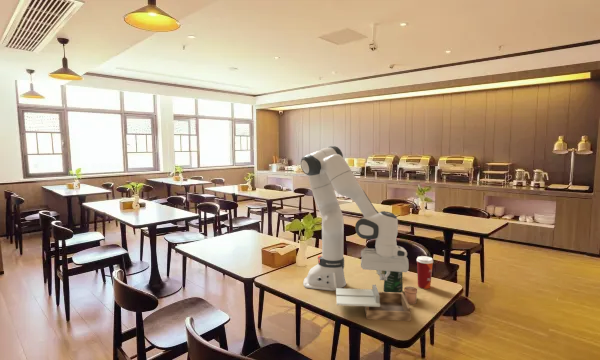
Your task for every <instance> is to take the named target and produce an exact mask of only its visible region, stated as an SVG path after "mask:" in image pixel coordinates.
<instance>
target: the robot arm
mask: <svg viewBox="0 0 600 360" xmlns="http://www.w3.org/2000/svg"><path fill="white" fill-rule="evenodd" d="M300 167H301V170H302V172H303V173H304V174H305V175H306V176H307V177H308V183H309V186H310V190H311V192H312V196H313V198H314V202H315V204H316V207H317V210H318V211H319V214H320V216H321V244H322V245H321V255H320V254H318V256H317V261H318V262H317V264H316V265H314V266H313V267H311V268H310V269H309V271H308V273H307V276H306V277H304V279H303V283H302V285H303V287H304V288H306V289H313V290H323V291H331V292H333V291H336V288H345V287H346V285H347V280H346V278H345V271H344V268H345V257H344V234H345V233H344V231H345V230H344V228H345V227H344V226H345V224H344V215H343V212H342V209H341V206H340V203H339V201H338V198H337V195H336V193H337V194H339V195H341V196H343V197H346V198H348V199H351V200H352V201H353V202H354V203H355V204H356V206H357V207H358V209H359V210H360V212H361V213H362V216H363V217H361V218H360V219H358V220H357V221H356V223H355V228H354V229H355V233H356V234H357V236H358V237H359V238H361V239H364V240H375V245H374V247H375V248H373V247H371V248H368V247H365V248H363V249H361V251H360V255H361V256H360V257H361V260H360V268H361V269H362V270H369V271H376V270H378V273H379V274H378V275H379V281H384V280H386V281H387V277H388V276H389V274H390V271H395V272H402V273H407V272H408V271H409V259H408V257H407V256H408V252H407V250H406V249H405V248H404V247H403V246H400V245H397V236H398V232H399V231H398V230H399V226H398V225H399V221H398V220H399V219H398V217H397V215H396V214H394V213H393V212H390V211H384V210H382V211H378V210H377V209H376V208H375V206H374V205H373V203H372V202H371V199H370V198H369V196H368V195H367V193H366V192H365V190H364V189H363V187H362V186H361V184H360V183H359V182H358V180H357V178H356V176H355V174H354V173H353V171H352V169H351V167H350V166H349V164H348V163H347V161H346V160H345V159H344V155H343V152H342V150H341V149H340V148H339V147H338V146H332V145H331V146H328V147H324V148H323V147H322V148H320V149H317V150H315V151H313V152H311V153H308V154H305V155H304V156H303V157H301V160H300ZM382 271H386V272H387V273H386V274H385V275H381V273H382Z"/></svg>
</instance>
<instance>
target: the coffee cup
mask: <svg viewBox="0 0 600 360" xmlns="http://www.w3.org/2000/svg"><path fill="white" fill-rule="evenodd" d="M433 259H434V258H432V257H431V256H426V255H425V256H424V255H421V256H419V255H418V256H417V258H416V264H417V265H416V267H417V268H416V269H417V272H416V273H417V287H418V288H420V289H424V290H427V289H430V288H431V286H432V285H431V283H432V273H433V263H434V260H433Z"/></svg>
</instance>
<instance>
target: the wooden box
mask: <svg viewBox="0 0 600 360" xmlns="http://www.w3.org/2000/svg"><path fill="white" fill-rule="evenodd" d="M378 293H379V296H380V307H373V306H363V309H364V313H365V317H366V320H384V321H405V322H407V321H408V322H409V321H412V311H411V306H410V304H408V302H407V300H406V298H405V293H404V292H401V293H398V292H384V291H378Z"/></svg>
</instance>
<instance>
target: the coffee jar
mask: <svg viewBox="0 0 600 360" xmlns="http://www.w3.org/2000/svg"><path fill="white" fill-rule="evenodd" d="M386 273H387V272H386V271H385V274H386ZM403 283H404V282H403V272H395V271H390V274H389V276H388V277H387V281H386V280H383V292H398V293H403V290H404V288H403V287H404V286H403Z"/></svg>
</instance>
